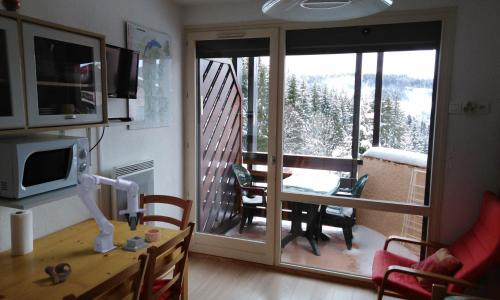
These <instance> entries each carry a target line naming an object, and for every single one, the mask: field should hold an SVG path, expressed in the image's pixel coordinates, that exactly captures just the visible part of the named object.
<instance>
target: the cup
mask: <svg viewBox="0 0 500 300" xmlns="http://www.w3.org/2000/svg"><path fill="white" fill-rule="evenodd" d="M144 238H145V241H146V242H147V243H154V242H159V241H160V240H161V239H162V231H161V229H159V228H149V229H146V230H145V232H144Z"/></svg>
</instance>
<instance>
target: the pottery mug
mask: <svg viewBox="0 0 500 300" xmlns="http://www.w3.org/2000/svg"><path fill="white" fill-rule="evenodd" d="M66 266H67V268H68V269H66V268H65V267H66ZM44 272H45V274H46V275H48V276H49V278H52V277H54V280H53V281H54V283H57V284H59V282H61V281H64V280H65V279H67V278H69V277H70V276H71V274H72V273H73V270H72V267H71V265H70V264H69V263H67V262H63V261H62V262H57V263H56V264H55V265H48V266H45V268H44Z"/></svg>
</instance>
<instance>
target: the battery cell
mask: <svg viewBox="0 0 500 300" xmlns="http://www.w3.org/2000/svg"><path fill="white" fill-rule="evenodd" d="M129 219H130V226H129V230H130V231H133V232H134V231H137V226H136V221H137V215H136V216H135V215H131V216H129Z"/></svg>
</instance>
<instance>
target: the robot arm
mask: <svg viewBox="0 0 500 300" xmlns="http://www.w3.org/2000/svg"><path fill="white" fill-rule="evenodd" d="M99 184H104V185H108V186H109V185H110V186H113V188H114V189H117V190H121V191H126V193H127V194H126V197H127V198H126V199H127V202H126V203H127V209H123V210H119V211H118V212H119V216H121V215H124V217H125V219H126V221H127V224H128V227H130V215H131V214H136V226H138V225H139V221H140V218H141V215H142V214H146V213H147V208H139V201H138V200H139V196H138V194H139V193H138V191H140V187H139V184H138V183H136V182H134V181H132V180H126V179H124V178H122V177H119V178H116V179H113V178H109V177H106V176H100V175H98V174H92V173H90V174H88V173H85V172H84V173H82V174H80V175H79V176H78V178H77V180H76V185H77V187H76V188H77V189H76V190H77V192H76V193H77V197H78V198H79V199H80V201H81V202H82V204H83V205H84V206H85V208H86V209H87V210H88V212H89V213H90V215H91V216H92V218H93V219H94V220H95V222H96V224H97V228H98V229H99V231H98V235H97V236H95V237H94V242H93V243H94V246H93V247H94V249H93V251H94V252H98V253H101V254H104V253H108V252H109V251H113V250H114V249H117V248H118V247H117V246H116V245H114V231H115V226H114V224H112V223H111V222H110V221H108V219H107V217H105V215H104V214H103V212H101V209H100V208H99V207H98V205H97V204H96V202H95V201H94V200H93V198H92V197H91V196H90V191H91V190H92V189H93V187H94V186H97V185H99Z"/></svg>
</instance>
